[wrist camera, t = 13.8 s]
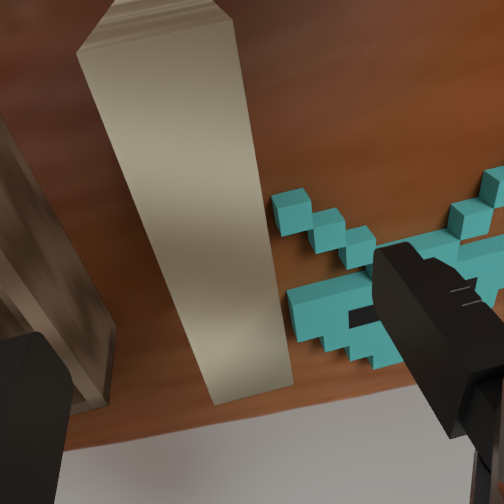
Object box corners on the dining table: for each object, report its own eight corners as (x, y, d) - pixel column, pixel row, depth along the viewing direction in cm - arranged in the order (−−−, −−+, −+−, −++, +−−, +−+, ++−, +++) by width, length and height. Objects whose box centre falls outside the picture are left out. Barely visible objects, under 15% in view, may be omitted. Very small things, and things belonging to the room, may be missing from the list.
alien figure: (269, 192, 28) (298, 368, 40) (277, 209, 26) (305, 388, 39) (545, 124, 29) (491, 317, 41) (570, 135, 27) (506, 333, 39)
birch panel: (123, -12, 20) (75, 53, 8) (186, -25, 20) (232, 19, 8) (188, 203, 27) (214, 405, 15) (233, 192, 27) (293, 384, 15)
